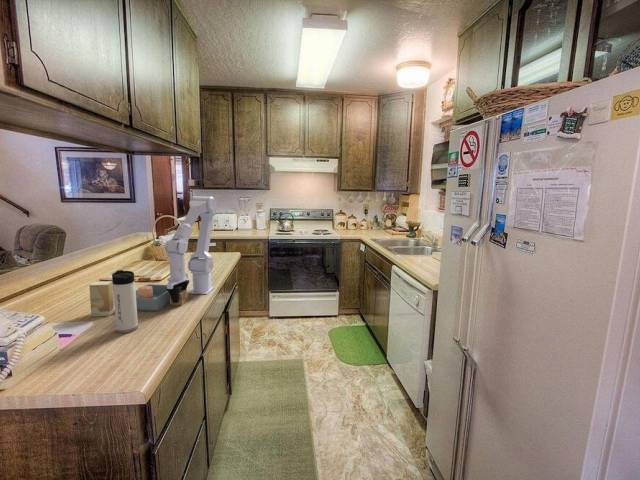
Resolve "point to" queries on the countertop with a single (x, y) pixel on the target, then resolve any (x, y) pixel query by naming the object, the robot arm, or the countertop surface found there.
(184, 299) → the walnut cube
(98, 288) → the skincare box
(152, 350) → the countertop surface
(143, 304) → the tote
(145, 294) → the terracotta capsule
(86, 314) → the countertop surface
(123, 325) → the travel mug
